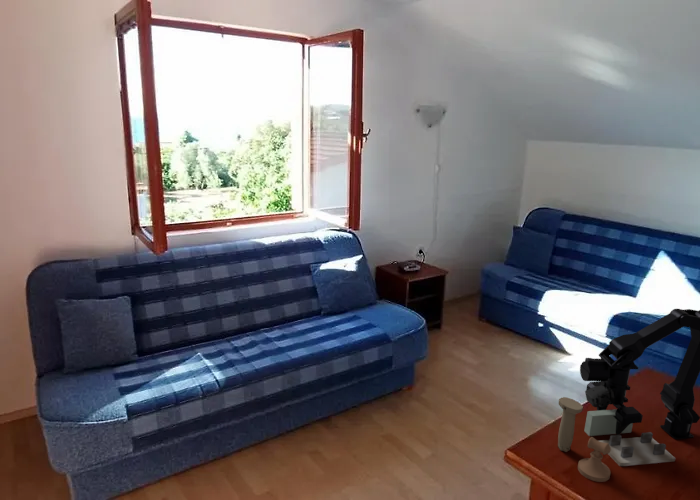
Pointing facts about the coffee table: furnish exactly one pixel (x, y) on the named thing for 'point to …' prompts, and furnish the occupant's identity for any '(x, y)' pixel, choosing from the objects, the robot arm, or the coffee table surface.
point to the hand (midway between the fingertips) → (608, 425)
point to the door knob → (595, 462)
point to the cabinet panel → (637, 450)
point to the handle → (567, 422)
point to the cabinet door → (603, 423)
